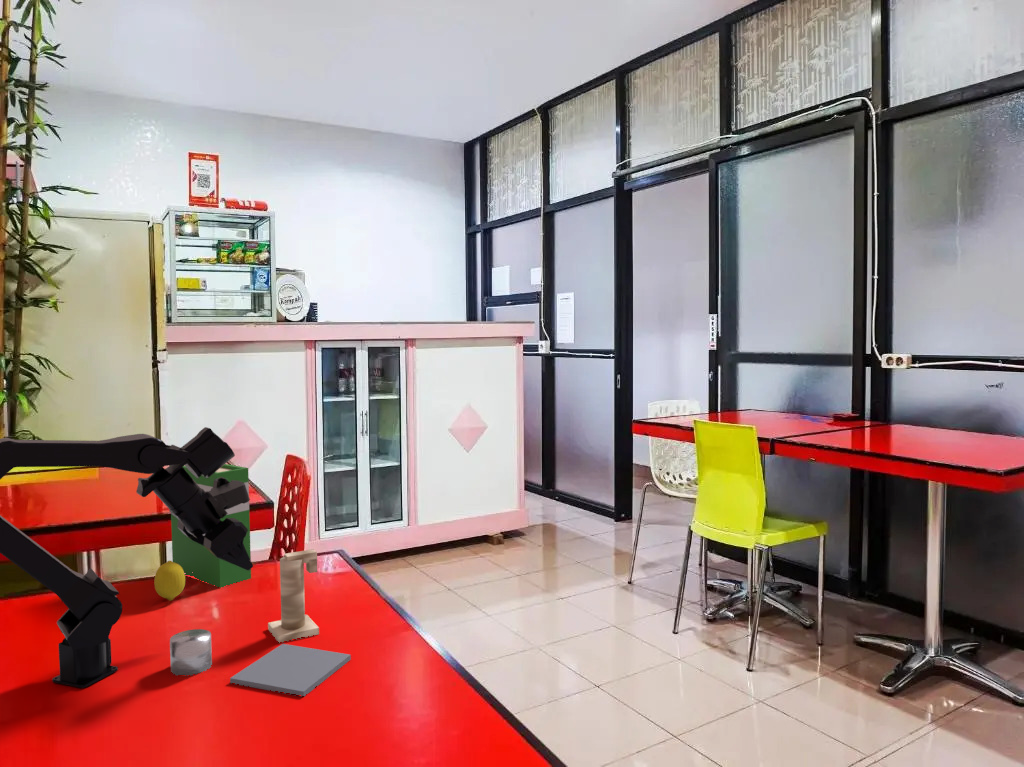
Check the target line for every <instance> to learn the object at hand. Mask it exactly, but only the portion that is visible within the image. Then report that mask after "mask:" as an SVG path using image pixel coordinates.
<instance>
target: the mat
mask: <svg viewBox="0 0 1024 767" xmlns="http://www.w3.org/2000/svg"><path fill="white" fill-rule="evenodd" d="M351 656H352V655H351V654H349V653H343V652H336V651H330V650H323V649H318V648H311V647H305V646H299V645H293V644H289V643H281V644H280V645H279V646H277V647H275V648H274V649H273V650H271V651H269V652H268V653H266V654H265V655H263V656H262V657H260V658H259V659H257V660H255V661H254V662H252V663H251V664H250V665H248V666H246V667H245V668H243V669H242V670H240V671H239V672H237V673H235V674H234V675H233V676H231V677H229V681H230V682H229V683H230V684H232V683H235V684H234V685H237V684H239V685H238V686H243V685H244V687H248V686H249V687H250V688H253V689H254V688H255V689H260V690H264V691H270V690H271V692H275V691H278V692H277V693H280V692H284V693H283V694H286V693H290V694H289V695H291V694H296V695H301V696H300V697H302V696H304V697H305V696H307V695H308V694H309V693H310V692H312V691H313V690H314V689H315V687H316V686H317V687H319V685H321V684H322V683H323V682H325V681H326V680H327V679H329V677H330V676H332V675H333V674H335V673H336V672H337V671H338V670H339V669H341V668H342V667H344V665H346V664H347V663H348V662H349V661H351V660H352V657H351ZM317 687H316V688H317ZM306 694H307V695H306ZM296 695H295V696H296Z"/></svg>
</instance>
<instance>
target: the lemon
mask: <svg viewBox="0 0 1024 767" xmlns="http://www.w3.org/2000/svg"><path fill="white" fill-rule="evenodd" d="M153 581H154V584H153V585H154V589H155V592H156V593H157V594H158V596H160V597H162V598H163V599H166V600H168V601H170V602H171V601H173V600H174V599H175V598H176V597H177V596H179V595H180V594H181V593H182V592H183V590H184V588H185V585H186V576H185V574H184V571H183V568H182V567H181V566H180V565H179V564H177V563H175V562H173V560H168V561H166V562H165V563H163V564H161V565H160V566H159V567H158V568H157V570H156V571H155V575H154V580H153Z"/></svg>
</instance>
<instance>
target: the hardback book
mask: <svg viewBox="0 0 1024 767" xmlns="http://www.w3.org/2000/svg"><path fill="white" fill-rule="evenodd" d="M169 466H170V465H169ZM169 466H168V467H169ZM183 468H184V469H185V471H186V472H187V473H188V474H189V475H190V476H191V477H192V479H193V480H194V481H195V482H196V483H197V484H198V486H199V487H200V488H202V489H203V490H204V491H205V492H206V491H211V488H213V484H214V480H215V479H217V478H220V477H224V478H226V479H227V480H228V481H229V482H231V480H234V481H235V480H238V481H241V482H243V483H245V486H246V489H247V492H248V495H249V496H250V486H249V467H245V466H239V465H234V464H227V463H226V464H224V465H223V466H222V467H221V468H220V469H218V470H217V471H216V472H215V473H214V474H212V475H211V476H210V477H209V478H206V477H204V476H202V475H201V476H200V477H199V478H197V477H196V476H194V475H193V474H192V473H191V472H190V471H189V470H188V469H187V467H186V466H185V465H184V466H183ZM225 511H226V512H227V513H228V514H227V515H226V516H224V517H223V518H220V520H221V521H224V520H225V519H226V518H235V519H237V520H239V521H240V522H242V523H243V524H244V526H245V527H246V528H247V529H248V532H247V535H246V536H245V538H244V541H243V544H244V546H245V549H246V551H247V553H248V556H249V558H250V560H251V561H252V558H251V557H252V556H251V553H252V552H251V522H250V520H251V518H250V515H251V514H250V500H249V501H248V502H247V503H244V504H243V503H241V504H239V505H237V506H234V507H232V508H230V509H226V510H225ZM170 526H171V549H172V552H171V553H172V554H171V556H172V562H175V563H177V564H179V565H180V566H181V567H182V568H183V571H184V573H186V574H185V575H190V576H194V577H195V578H197V579H199V580H201V581H204V582H207V583H209V584H212V585H215V586H217V587H216V588H218V587H220V588H219V589H222V588H221V587H223V588H225V587H224V586H226V585H229V586H231V585H230V584H232V585H234V584H233V583H235V584H237V583H236V582H239V583H241V582H240V581H242V582H244V581H243V580H245V581H247V580H251V579H252V568H251V569H250V570H249V571H248V570H245V569H243V568H241V567H238V566H236V565H234V564H231V563H229V562H227V561H224V560H222V559H219V558H217V557H216V556H214V555H213V554H212V553H211V552H210V551H209V550H207V548H206V547H205V546H203V545H201V544H199V543H197V542H194V541H193V540H191V539H190V538H188V537H187V536H186V535H184V534H183V533H182V532H181V531H180V530H179V528H178V527H177V526H178V519H177V517H175V516H173V515H172V514H171V513H170ZM192 572H193V573H192ZM209 584H208V585H209ZM212 585H211V586H212ZM215 586H214V587H215ZM226 587H227V586H226Z"/></svg>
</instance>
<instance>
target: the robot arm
mask: <svg viewBox="0 0 1024 767" xmlns="http://www.w3.org/2000/svg"><path fill="white" fill-rule="evenodd" d="M234 457H235V452H234V451H233V449H232V448H231V446H230V444H228V442H226V441H224V440H223V439H222V438H221V437H220V436H218V435H217V434H216V433H215V432H214V431H213V430H212V429H211V428H210V427H207V426H206V427H203V428H202V429H201V430H200V431H199V432H198V433H197V434H196V435H195V436H194V437H192V439H190V440H189V441H188V442H186V443H185V444H183V446H181V447H180V446H177V445H175V444H171V445H168V444H166V443H165V441H163V440H162V439H161V438H160V439H159V438H158V437H154V436H152V435H150V434H146V433H137V434H129V435H122V436H117V437H112V438H107V439H102V440H65V439H63V440H61V439H60V440H58V439H57V440H56V439H47V440H46V439H13V438H8V437H3V438H0V480H1V479H2V478H4V477H5V476H6V475H7V474H8V473H9V472H11V471H12V470H13V469H15V468H62V467H63V468H65V467H66V468H68V467H69V468H70V467H74V468H75V467H79V468H80V467H103V468H111V469H115V470H120V471H125V472H132V473H137V474H146V475H149V476H148V477H138V478H137V482H138V484H137V488H136V494H137V495H139V496H140V497H142V498H146V497H147V496H148V495H150V494H151V493H152V492H153V493H154V494H155V495H156V496H157V497H158V499H160V500H161V502H162V503H163V504H164V505H165V506H166V507H167V509H168V510H169V511H168V512H169V513H170V515H171V514H172V515H173V516H175V517H177V519H178V526H177V527H178V528H179V530H180V531H181V532H182V533H183V534H184V535H186V536H187V537H188V538H190V539H191V540H193V541H194V542H197V543H199V544H201V545H203V546H205V547H206V548H207V550H209V551H210V552H211V553H212V554H213V555H214V556H216V557H217V558H219V559H222V560H224V561H227V562H229V563H231V564H234V565H236V566H238V567H241V568H243V569H245V570H248V571H249V570H250V569H251V570H252V568H253V567H254V565H253V562H252V559H251V560H250V558H249V556H248V553H247V551H246V549H245V546H244V544H243V541H244V538H245V536H246V535H247V532H248V529H247V528H246V527H245V526H244V524H243V523H242V522H240V521H239V520H237V519H235V518H226V519H225V520H224V521H221V520H220V518H223V517H224V516H226V515H227V514H228V513H227V512H226V511H225V510H226V509H230V508H232V507H234V506H237V505H239V504H241V503H243V504H244V503H247V502H248V501H249V502H250V500H251V499H250V494H249V495H248V492H247V489H246V486H245V483H243V482H241V481H238V480H235V481H234V480H231V482H229V481H228V480H227V479H226V478H224V477H220V478H217V479H215V480H214V484H213V488H211V491H206V492H205V491H204V490H203V489H202V488H200V487H199V486H198V484H197V483H196V482H195V481H194V480H193V479H192V477H191V476H190V475H189V474H188V473H187V472H186V471H185V469H184V468H183V466H186V467H187V469H188V470H189V471H190V472H191V473H192V474H193V475H194V476H196V477H197V478H199V477H200V476H201V475H202V476H204V477H206V478H209V477H210V476H211V475H212V474H214V473H215V472H216V471H217V470H218V469H220V468H221V467H222V466H223V465H224V464H227V463H228V462H229V461H231V460H232V459H233V458H234ZM169 465H170V466H169ZM165 467H166V468H165ZM0 554H1V555H2V556H4V557H5V558H6V559H8V560H9V561H11V563H13V564H15V566H17V567H19V568H20V569H22V571H24V572H25V573H27V574H28V575H29V576H30V577H32V578H33V579H34V580H36V581H37V582H39V583H40V584H41V585H43V586H44V587H45V588H47V589H48V590H50V591H51V592H53V594H54V595H56V596H57V597H58V598H59V599H60V600H61V602H62V603H63V604H64V605H65V606H66V607H67V610H66V611H65V612H63V614H62V615H61V616H60V618H58V619H57V621H56V625H57V626H58V628H59V631H60V632H61V633H62V634H63V635H64V638H63V639H62V641H61V642H58V643H57V644H58V660H59V661H58V662H59V675H56V676H54V677H52V680H51V681H52V683H55V684H59V685H66V686H70V687H74V688H80V689H84V688H87V687H89V686H91V685H93V684H94V683H97V682H98V681H100V680H102V679H104V678H105V677H108V676H110V675H112V674H114V673H116V672H118V670H119V667H118V666H115V665H112V641H111V640H112V639H110V634H111V631H112V628H113V626H115V624H117V622H118V621H119V620H120V619H121V616H122V613H123V604H122V601H121V600H120V598H118V595H120V592H119V591H118V590H117V588H116V587H114V585H113V584H112V583H111V582H110V581H108V580H104V579H102V578H101V577H99V576H98V574H97V573H96V572H95V570H94V569H92V568H89V569H88V570H87V571H86V573H85V574H82V573H80V572H77V571H75V570H73V569H71V568H70V567H69V566H67V565H66V564H64V562H62V561H61V560H59V559H58V558H57V557H56V556H54V555H53V554H51V553H50V552H49V551H48V550H46V548H44V547H43V546H41V545H40V544H38V543H37V542H36V541H34V540H33V539H32V538H31V537H29V536H28V535H27V534H26V533H24V532H23V531H21V529H19V528H18V527H16V526H15V525H14V524H13V523H11V522H10V521H9V520H7V519H6V518H5V517H3V516H2V515H1V514H0Z"/></svg>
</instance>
